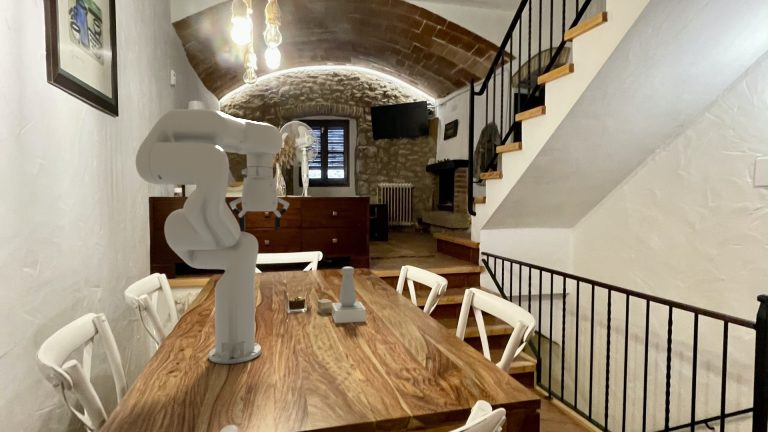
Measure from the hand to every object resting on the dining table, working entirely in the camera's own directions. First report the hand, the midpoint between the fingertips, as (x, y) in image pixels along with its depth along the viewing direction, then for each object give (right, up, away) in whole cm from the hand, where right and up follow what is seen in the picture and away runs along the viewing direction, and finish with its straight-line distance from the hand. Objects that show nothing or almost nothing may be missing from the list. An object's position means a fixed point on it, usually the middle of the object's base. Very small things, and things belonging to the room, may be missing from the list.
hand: (260, 230), depth 124 cm
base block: (+26, -30, +14) cm, 42 cm away
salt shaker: (+25, -26, +13) cm, 39 cm away
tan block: (+17, -30, +21) cm, 40 cm away
